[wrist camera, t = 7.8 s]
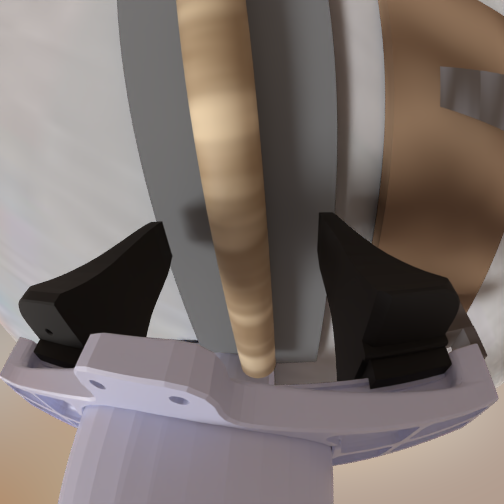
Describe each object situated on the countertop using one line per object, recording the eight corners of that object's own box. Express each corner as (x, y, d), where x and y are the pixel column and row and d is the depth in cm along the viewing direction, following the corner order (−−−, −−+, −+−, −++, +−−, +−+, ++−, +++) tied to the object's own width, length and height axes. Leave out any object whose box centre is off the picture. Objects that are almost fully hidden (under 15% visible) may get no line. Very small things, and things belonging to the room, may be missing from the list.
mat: (315, 355, 21) (316, 361, 20) (208, 356, 22) (206, 361, 21) (318, -40, 6) (320, -44, 5) (122, -9, 7) (116, -11, 6)
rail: (277, 350, 19) (273, 379, 17) (244, 348, 20) (238, 376, 18) (248, -11, 7) (235, -32, 5) (189, 0, 7) (163, -15, 5)
